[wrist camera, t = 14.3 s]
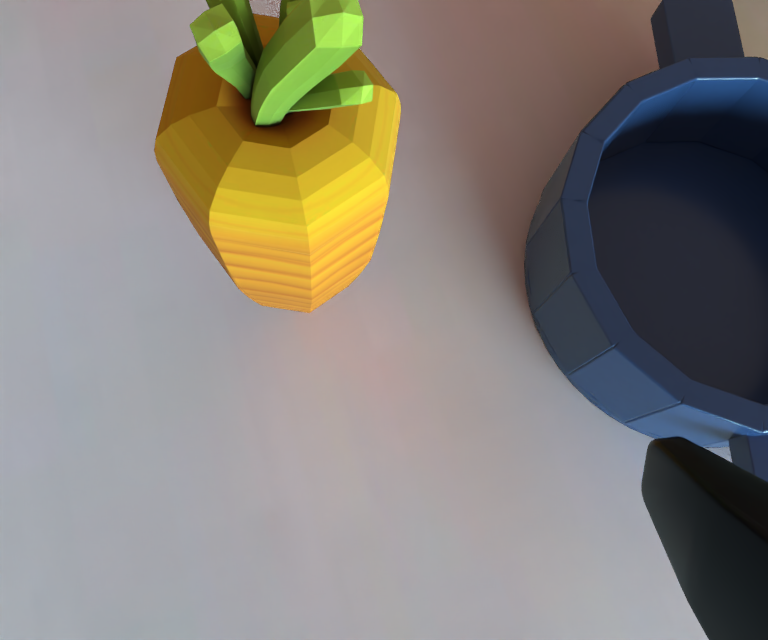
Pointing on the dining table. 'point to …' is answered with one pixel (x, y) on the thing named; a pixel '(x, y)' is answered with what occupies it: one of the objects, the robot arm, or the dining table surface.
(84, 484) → the dining table surface
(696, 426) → the pot
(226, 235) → the carrot
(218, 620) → the dining table surface
